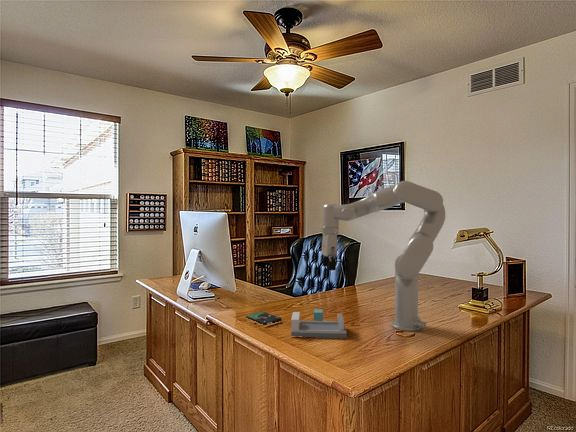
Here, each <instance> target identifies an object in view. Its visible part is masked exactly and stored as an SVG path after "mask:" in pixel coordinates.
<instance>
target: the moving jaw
mask: <svg viewBox="0 0 576 432" xmlns="http://www.w3.org/2000/svg"><path fill="white" fill-rule="evenodd" d="M336 315H337V316H336V317H337V319H336V321H337V325H338V331H344V325H345V321H344V320H345V319H344V317H343V313H336Z"/></svg>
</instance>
